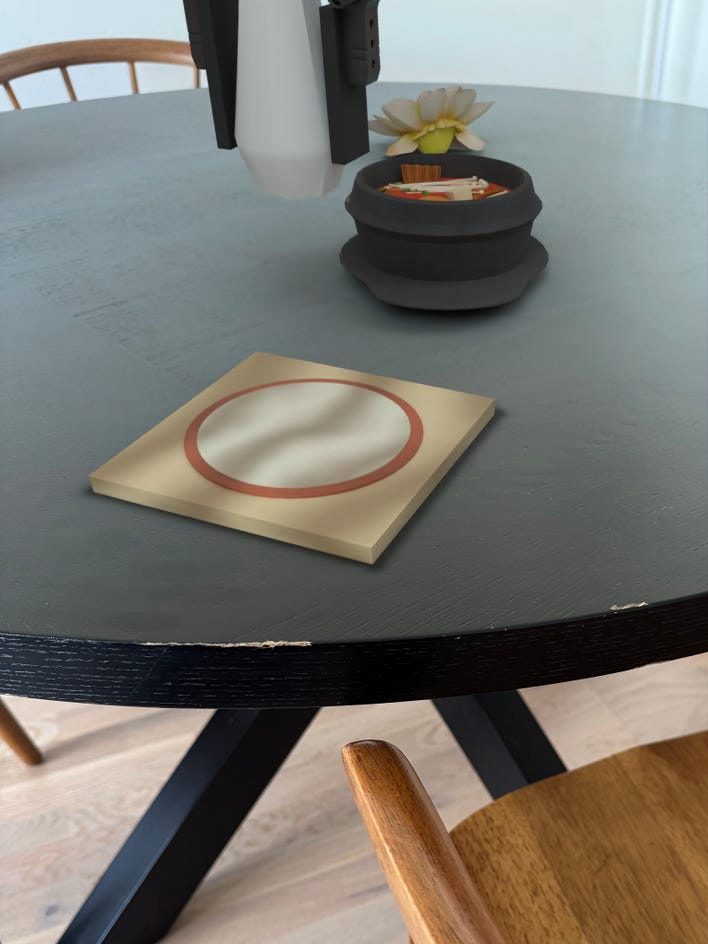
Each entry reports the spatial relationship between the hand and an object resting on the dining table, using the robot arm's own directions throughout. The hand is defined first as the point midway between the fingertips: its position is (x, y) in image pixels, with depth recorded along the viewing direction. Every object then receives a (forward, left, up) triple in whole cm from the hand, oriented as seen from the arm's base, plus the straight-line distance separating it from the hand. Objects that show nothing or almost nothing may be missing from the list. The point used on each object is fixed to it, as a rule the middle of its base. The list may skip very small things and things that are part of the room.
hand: (293, 149), depth 49 cm
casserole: (-6, +33, -19) cm, 38 cm away
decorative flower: (-23, +69, -19) cm, 75 cm away
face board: (-2, +1, -18) cm, 19 cm away
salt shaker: (0, 0, -2) cm, 2 cm away
